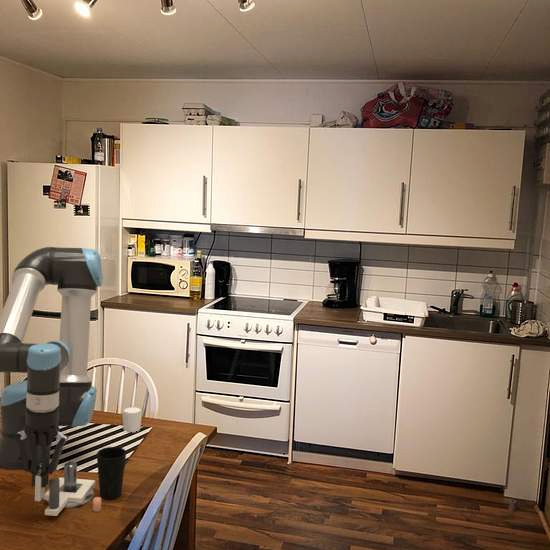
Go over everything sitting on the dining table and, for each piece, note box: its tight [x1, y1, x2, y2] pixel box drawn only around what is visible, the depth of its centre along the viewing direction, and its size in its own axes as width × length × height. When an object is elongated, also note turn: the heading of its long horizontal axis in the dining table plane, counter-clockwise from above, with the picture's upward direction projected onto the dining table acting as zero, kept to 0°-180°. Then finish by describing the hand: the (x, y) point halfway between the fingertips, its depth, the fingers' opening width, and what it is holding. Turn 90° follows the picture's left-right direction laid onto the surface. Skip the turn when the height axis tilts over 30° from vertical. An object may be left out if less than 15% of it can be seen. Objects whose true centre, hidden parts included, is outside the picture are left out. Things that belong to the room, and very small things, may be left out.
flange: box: [43, 477, 96, 517], centre depth 157 cm, size 17×10×8 cm, turn 176°
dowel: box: [92, 496, 102, 513], centre depth 155 cm, size 2×2×3 cm
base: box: [46, 461, 95, 509], centre depth 160 cm, size 12×12×9 cm
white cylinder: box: [121, 406, 143, 433], centre depth 207 cm, size 7×7×7 cm
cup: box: [96, 446, 127, 501], centre depth 162 cm, size 8×8×12 cm
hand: (39, 498), depth 150 cm, fingers closed
